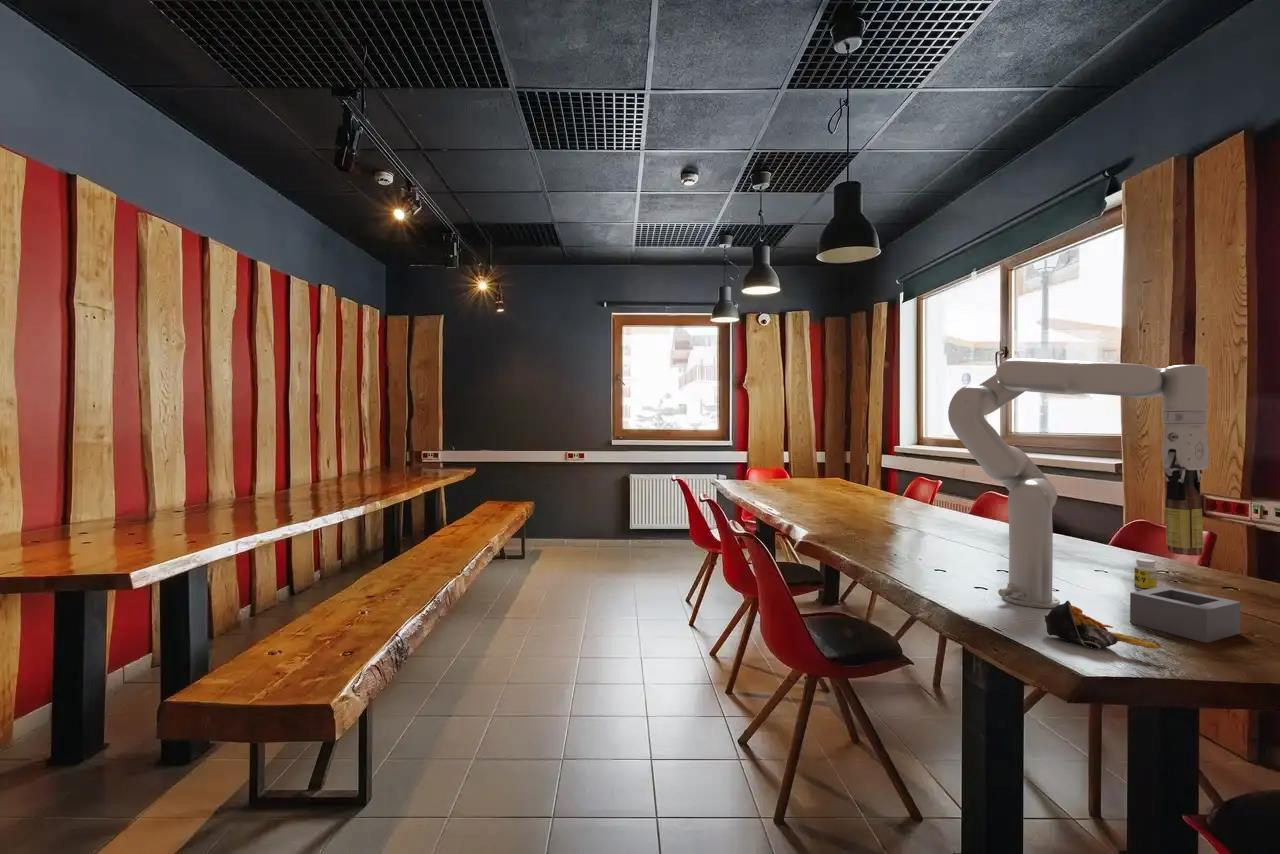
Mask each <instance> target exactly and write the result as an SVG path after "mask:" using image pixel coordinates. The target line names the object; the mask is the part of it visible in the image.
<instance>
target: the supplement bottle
mask: <svg viewBox="0 0 1280 854" xmlns="http://www.w3.org/2000/svg"><path fill="white" fill-rule="evenodd" d="M1135 561H1136V563H1135V564H1136V565H1134V574H1133V575H1134V576H1133V577H1134V578H1133V579H1134V581H1133V582H1134V587H1133V588H1134V589H1135V590H1136V591H1141V590H1146V589H1151V588H1156V587H1158V586H1157V584H1158V578H1157V577H1158V575H1157V574H1158V570H1157V568H1156V560H1153V559H1149V558H1141V557H1140V558H1136V560H1135Z"/></svg>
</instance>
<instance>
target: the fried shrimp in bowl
mask: <svg viewBox="0 0 1280 854" xmlns="http://www.w3.org/2000/svg"><path fill="white" fill-rule="evenodd" d="M1043 617H1044V622H1045V625H1046V632H1047V634H1048V635H1049V636H1055V637H1058V638H1059V639H1061V640H1063V641H1067V642H1071V643H1078V644H1081V645H1083V646H1085V647H1087V648H1089V647H1092V648H1091V649H1093V648H1096V649H1095V650H1100V649H1101V648H1109V647H1111V646H1114V645H1116V644H1117V643H1119V642H1122V643H1125V644H1129V645H1132V646H1136V647H1138V646H1139V647H1143V648H1145V649H1160V648H1161V645H1162V644H1161V643H1160V642H1159V641H1157V640H1154V639H1151V638H1150V639H1147V638H1142V637H1141V636H1140V637H1139V636H1135V635H1134V636H1133V635H1127V634H1122V633H1116V632H1112V631H1110V630H1108V629H1107V628H1109V629H1112V628H1114V626H1112V625H1109V624H1104V623H1102V622H1100V621H1099V620H1095V618H1092V617H1090V616H1087V615H1086V614H1085V613H1084V614H1083V610H1082V609H1081V608H1080V607H1078V606H1074V605H1072V604H1071V601H1070V600H1066V601H1065V602H1064V603H1062V604H1060V605H1058V606H1056V607H1054V608H1051V610H1050V611H1049V613H1048V614H1047V615H1046V614H1045V615H1043Z"/></svg>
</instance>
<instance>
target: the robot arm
mask: <svg viewBox="0 0 1280 854" xmlns="http://www.w3.org/2000/svg"><path fill="white" fill-rule="evenodd" d="M1025 392H1029V393H1044V394H1056V395H1068V396H1069V395H1081V394H1082V395H1083V394H1084V395H1085V394H1086V395H1087V394H1088V395H1089V394H1090V395H1091V394H1093V395H1106V396H1118V397H1119V396H1121V397H1131V398H1134V399H1148V398H1149V399H1151V398H1156V397H1157V398H1158V397H1159V398H1160V397H1162V406H1161V407H1162V410H1161V411H1162V417H1161V418H1162V421H1161V425H1162V426H1163V427H1164V428H1163V429H1164V430H1163V437H1162V447H1161V451H1162V452H1161V461H1162V462H1161V463H1162V470H1163V471H1164V473H1165V476H1166V478H1165V482H1166V494H1167V499H1171V500H1181V501H1184V500H1185V499H1186V483H1183V481H1184V476H1185V471H1186V470H1195V472H1194V474H1193V481H1194V487H1195V489H1196V490H1197V492H1198V493H1199V494H1200V495H1201V481H1202V476H1201V475H1202V473H1203V470H1206V469H1208V468H1209V467H1210V453H1209V440H1208V431H1207V428H1206V427H1208V368H1207V367H1206V366H1204V365H1201V364H1176V365H1171V366H1168V367H1163V368H1162V367H1153V366H1151V365H1147V364H1141V363H1140V364H1139V363H1123V362H1122V363H1120V362H1118V363H1117V362H1099V361H1098V362H1095V361H1081V360H1062V359H1060V360H1058V359H1040V358H1038V359H1037V358H1021V357H1017V358H1016V357H1015V358H1007V359H1005V360H1004V361H1002V362H1000V363H999V365H998V366H997V368H996V372H995V374H993V375H992V376H990V378H987V379H985V381H983V382H982V383H980V384H970V385H965V386H962V387H961V388H959V389H958V390H957V391H956V392H955V393H954V395H953V396H952V398H951V400H950V402H949V404H948V411H947V413H948V414H947V416H948V422H949V425H950V428H951V429H952V431H953V433H954V435H956V437H957V438H958V439H959V440H960V442H961V443H962V444H963V446H964V447H965V448H966V450H967V451H968V452H969V453H970V454H971V456H972V457H973V458H974V460H975V461H976V462H977V463H978V465H979V466H980V467H981V469H982V470H983V471H984V473H985V474H986V475H987V476H988V477H989V478H991V480H992V479H993V480H994V481H997V482H1001V483H1002V484H1003V486H1004V487H1005V488H1006V489H1007V490H1008V491H1009V493H1008V496H1007V515H1008V516H1007V517H1008V583H1007V587H1005V588H1000V589H998V595H999V596H1000V597H1001V598H1002V599H1003V600H1005V601H1007V602H1009V603H1012V604H1014V603H1015V605H1017V606H1018V605H1020V606H1024V607H1029V608H1030V607H1031V608H1038V609H1053V608H1054V607H1056V606H1058V605H1061V604H1060V603H1061V602H1060V599H1059V598H1057V597H1055V596H1053V570H1054V569H1053V567H1054V566H1053V564H1054V563H1053V557H1054V556H1053V555H1054V554H1053V553H1054V547H1053V545H1054V543H1053V542H1054V541H1053V540H1054V539H1053V537H1054V536H1053V535H1054V534H1053V533H1054V532H1053V530H1054V529H1053V528H1054V527H1053V507H1054V506H1055V505H1056V504H1057V500H1058V492H1057V490H1056V488H1055V486H1054V485H1053V483H1052V482H1051V481H1050V479H1049V478H1048V477H1047V476H1046V475H1045V474H1044V473H1043V471H1041V469H1040V468H1039V467H1038V466H1037V465H1036V464H1035V462H1033V461H1032V459H1031V458H1030V457H1029V456H1028V455H1027V454H1026V453H1025V452H1024V451H1023V450H1022V449H1020V448H1018V447H1016V446H1014V445H1009V444H1008V443H1007V442H1006V441H1005V440H1004V439H1003V437H1001V436H1000V434H999V433H998V432H997V430H996V429H995V428H994V426H992V425H991V424H990V423H989V422H988V420H987V419H986V417H985V416H987V415H990V414H991V413H995V412H996V411H997V410H999V409H1000V408H1002V407H1003V406H1005V405H1007V404H1008V403H1010V402H1011V401H1013V400H1014V399H1016V398H1018V397H1019V396H1020V395H1022V394H1024V393H1025ZM1173 466H1176V467H1181V468H1173ZM1177 472H1179V475H1178V473H1177Z"/></svg>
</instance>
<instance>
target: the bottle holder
mask: <svg viewBox="0 0 1280 854" xmlns="http://www.w3.org/2000/svg"><path fill="white" fill-rule="evenodd" d="M1129 595H1130V596H1129V601H1130V602H1129V608H1130V609H1129V622H1130V623H1131V624H1134V625H1137V624H1138V626H1141V625H1142V627H1145V626H1146V627H1145V628H1148V627H1149V628H1148V629H1152V628H1153V630H1156V629H1157V630H1156V631H1160V630H1161V632H1163V631H1164V633H1167V632H1168V634H1171V635H1175V636H1180V637H1182V638H1187V639H1190V640H1194V641H1197V642H1201V643H1206V644H1208V643H1212V642H1215V641H1219V640H1222V639H1223V640H1224V639H1226V638H1229V637H1233V636H1236V635H1240V634H1241V601H1238V600H1233V599H1228V598H1223V597H1219V596H1218V597H1217V596H1214V595H1209V594H1204V593H1199V592H1194V591H1189V590H1185V589H1180V588H1175V587H1170V586H1166V585H1161V586H1157V587H1156V588H1151V589H1146V590H1141V591H1140V590H1135V591H1132V592H1130V594H1129Z"/></svg>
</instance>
